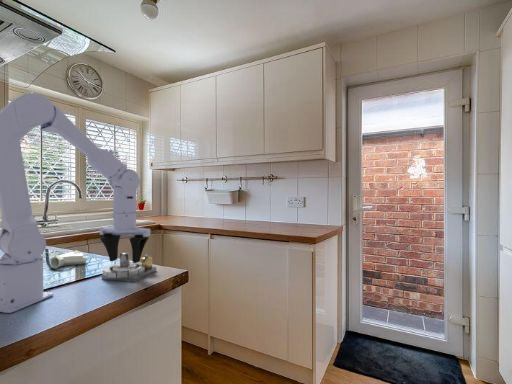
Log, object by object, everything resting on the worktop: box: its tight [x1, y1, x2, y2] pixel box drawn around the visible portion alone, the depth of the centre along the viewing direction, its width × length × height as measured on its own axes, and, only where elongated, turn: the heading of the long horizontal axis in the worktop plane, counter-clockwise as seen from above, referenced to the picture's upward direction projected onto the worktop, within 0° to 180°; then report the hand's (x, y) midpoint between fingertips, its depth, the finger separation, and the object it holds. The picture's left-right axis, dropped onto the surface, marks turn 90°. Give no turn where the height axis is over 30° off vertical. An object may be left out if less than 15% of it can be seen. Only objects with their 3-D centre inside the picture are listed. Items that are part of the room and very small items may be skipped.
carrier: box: [101, 254, 157, 283], centre depth 78 cm, size 11×11×5 cm
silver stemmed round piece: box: [113, 252, 136, 271], centre depth 78 cm, size 6×6×5 cm
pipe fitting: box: [49, 250, 88, 269], centre depth 88 cm, size 8×4×7 cm
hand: (124, 261), depth 78 cm, fingers open, 7 cm apart
